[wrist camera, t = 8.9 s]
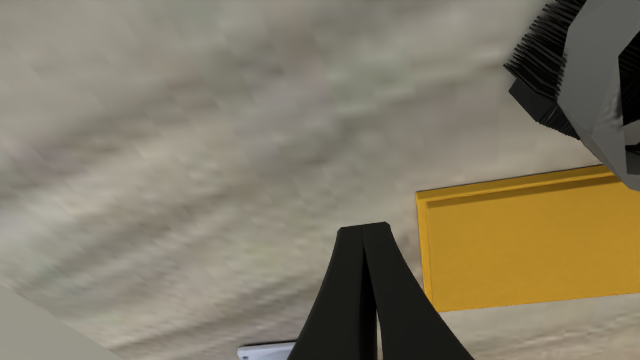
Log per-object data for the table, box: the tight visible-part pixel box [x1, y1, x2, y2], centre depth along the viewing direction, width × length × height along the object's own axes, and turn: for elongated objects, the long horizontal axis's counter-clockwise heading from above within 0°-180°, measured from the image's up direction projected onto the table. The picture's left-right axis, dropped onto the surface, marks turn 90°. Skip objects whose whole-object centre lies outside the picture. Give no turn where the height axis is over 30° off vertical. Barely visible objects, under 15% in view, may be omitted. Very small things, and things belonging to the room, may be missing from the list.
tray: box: [416, 165, 640, 312], centre depth 22 cm, size 10×18×1 cm, turn 102°
